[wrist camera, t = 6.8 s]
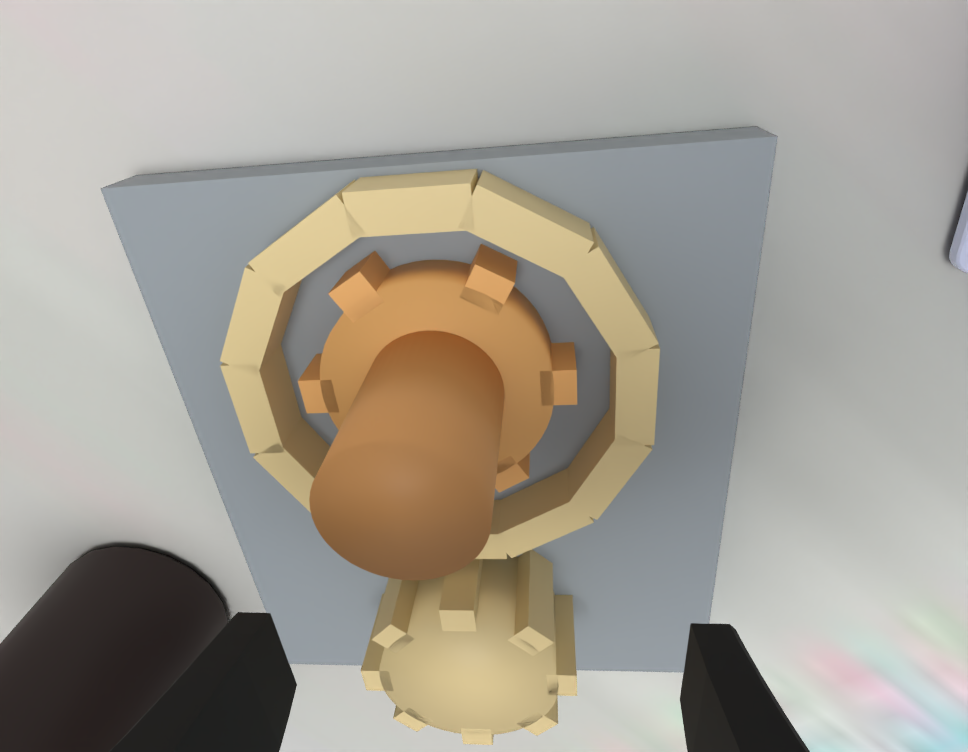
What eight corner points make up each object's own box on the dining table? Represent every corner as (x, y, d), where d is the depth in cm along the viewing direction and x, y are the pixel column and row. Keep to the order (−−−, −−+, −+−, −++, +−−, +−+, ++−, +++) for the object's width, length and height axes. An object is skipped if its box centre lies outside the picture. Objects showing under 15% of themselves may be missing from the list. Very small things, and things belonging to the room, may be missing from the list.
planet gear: (571, 237, 15) (586, 353, 10) (576, 457, 18) (590, 632, 13) (291, 255, 16) (165, 371, 10) (344, 463, 19) (269, 629, 14)
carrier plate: (756, 126, 15) (834, 163, 11) (693, 637, 24) (722, 757, 20) (135, 175, 16) (8, 222, 12) (299, 631, 26) (255, 740, 22)
